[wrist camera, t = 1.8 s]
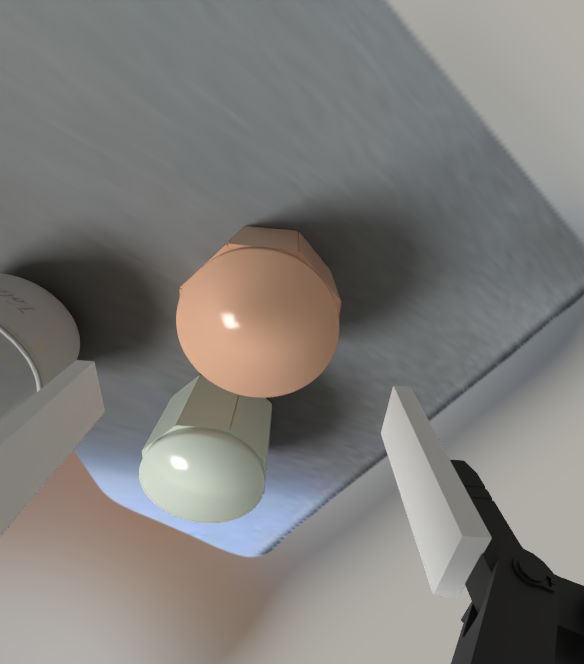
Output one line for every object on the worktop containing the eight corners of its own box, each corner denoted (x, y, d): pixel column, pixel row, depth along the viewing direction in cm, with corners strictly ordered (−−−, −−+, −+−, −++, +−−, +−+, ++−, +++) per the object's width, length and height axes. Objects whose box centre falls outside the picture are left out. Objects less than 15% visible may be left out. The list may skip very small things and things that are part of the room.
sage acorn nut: (169, 371, 31) (130, 431, 24) (274, 379, 31) (266, 441, 24) (177, 448, 35) (146, 518, 28) (268, 455, 35) (261, 526, 28)
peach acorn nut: (206, 222, 25) (169, 242, 17) (336, 234, 25) (351, 258, 18) (210, 337, 29) (181, 391, 22) (320, 346, 29) (327, 402, 22)
